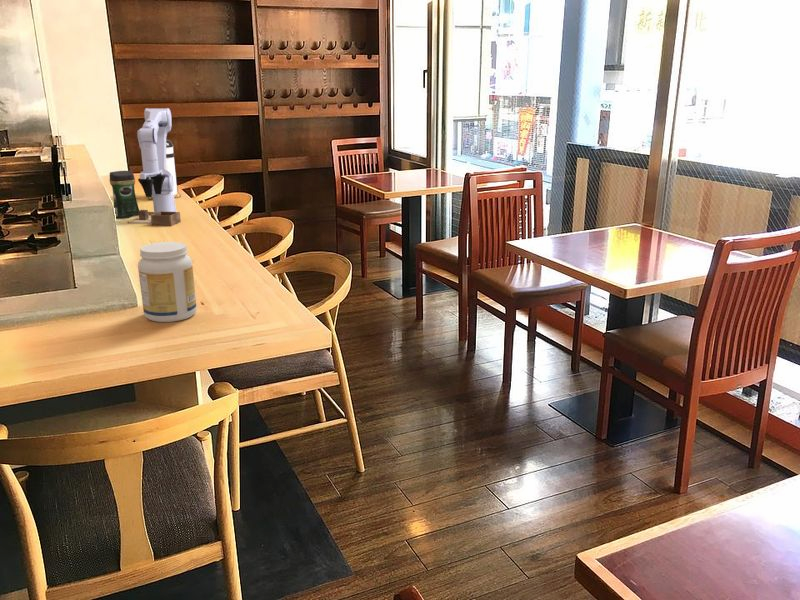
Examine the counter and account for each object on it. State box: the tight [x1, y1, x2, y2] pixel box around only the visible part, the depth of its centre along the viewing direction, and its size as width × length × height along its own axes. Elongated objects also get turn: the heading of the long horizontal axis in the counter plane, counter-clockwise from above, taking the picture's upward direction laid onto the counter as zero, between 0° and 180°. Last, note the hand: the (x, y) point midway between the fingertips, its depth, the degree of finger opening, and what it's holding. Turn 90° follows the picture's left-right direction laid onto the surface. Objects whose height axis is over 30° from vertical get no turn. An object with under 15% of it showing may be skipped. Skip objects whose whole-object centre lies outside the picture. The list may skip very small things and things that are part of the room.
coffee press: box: [147, 138, 182, 201], centre depth 315 cm, size 17×16×30 cm
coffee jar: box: [109, 170, 140, 219], centre depth 275 cm, size 10×8×19 cm
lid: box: [127, 209, 152, 225], centre depth 265 cm, size 9×9×5 cm
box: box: [150, 211, 182, 227], centre depth 261 cm, size 8×8×4 cm
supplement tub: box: [137, 241, 198, 323], centre depth 160 cm, size 12×12×17 cm
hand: (153, 195), depth 265 cm, fingers open, 7 cm apart
